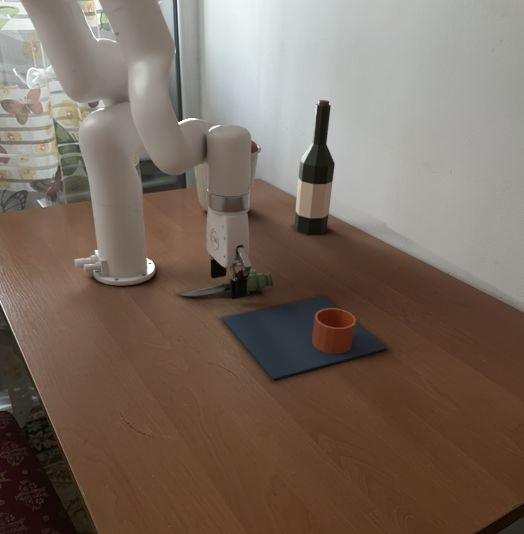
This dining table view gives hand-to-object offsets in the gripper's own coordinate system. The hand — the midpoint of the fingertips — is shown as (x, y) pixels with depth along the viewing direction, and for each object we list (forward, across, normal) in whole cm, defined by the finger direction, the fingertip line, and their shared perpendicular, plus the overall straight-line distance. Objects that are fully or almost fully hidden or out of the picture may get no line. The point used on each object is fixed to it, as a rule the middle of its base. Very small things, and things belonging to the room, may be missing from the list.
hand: (228, 286), depth 107 cm
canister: (+1, -44, +19) cm, 48 cm away
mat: (+2, +19, +6) cm, 20 cm away
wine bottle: (+2, -24, +34) cm, 42 cm away
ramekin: (+1, +24, +9) cm, 25 cm away
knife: (+2, 0, 0) cm, 2 cm away
